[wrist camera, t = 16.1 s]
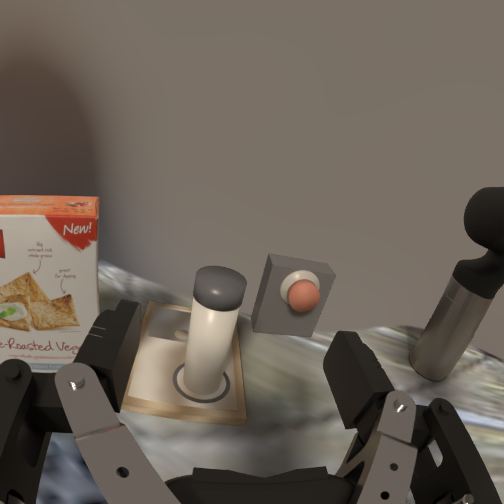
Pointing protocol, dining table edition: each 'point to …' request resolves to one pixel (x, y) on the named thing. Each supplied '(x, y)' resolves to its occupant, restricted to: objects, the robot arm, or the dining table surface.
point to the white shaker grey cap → (211, 327)
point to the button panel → (276, 301)
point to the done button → (303, 295)
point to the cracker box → (47, 278)
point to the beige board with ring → (180, 373)
